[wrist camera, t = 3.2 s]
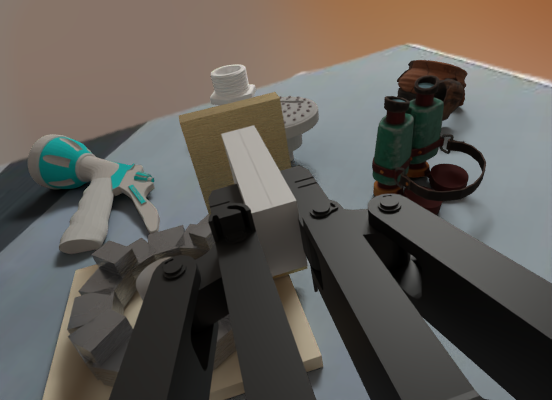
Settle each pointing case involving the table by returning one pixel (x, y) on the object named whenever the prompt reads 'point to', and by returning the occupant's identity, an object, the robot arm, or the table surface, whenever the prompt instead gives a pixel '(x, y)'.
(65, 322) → the base
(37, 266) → the table surface
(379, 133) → the binoculars
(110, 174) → the garden hose nozzle
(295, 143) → the showerhead
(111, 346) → the block ring with board
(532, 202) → the table surface
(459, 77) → the brown leather pouch
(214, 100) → the pipe fitting
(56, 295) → the table surface
